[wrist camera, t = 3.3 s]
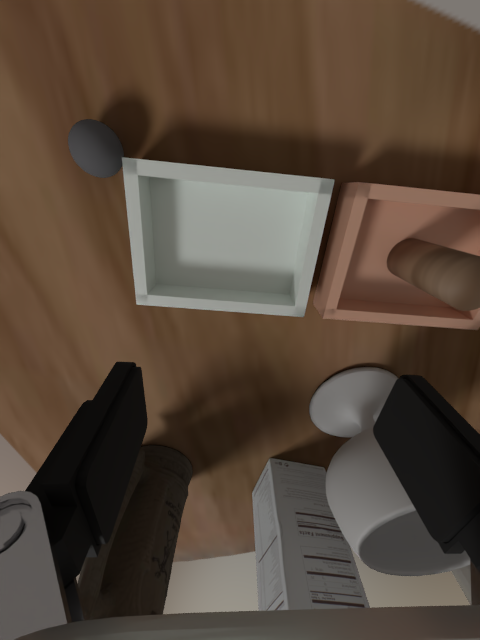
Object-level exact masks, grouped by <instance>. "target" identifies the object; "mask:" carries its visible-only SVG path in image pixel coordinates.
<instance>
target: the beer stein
mask: <svg viewBox="0 0 480 640" xmlns="http://www.w3.org/2000/svg"><path fill="white" fill-rule="evenodd" d="M191 477H192V466H191V464H190V462H189V460H188V459H187V458H186V457H185V456H184V455H183V454H181V453H180V452H178V451H176V450H174V449H171V448H168V447H164V446H156V445H149V446H143V447H141V448H140V451H139V454H138V457H137V460H136V463H135V466H134V469H133V472H132V475H131V478H130V481H129V484H128V487H127V490H126V493H125V496H124V499H123V502H122V505H121V508H120V511H119V514H118V517H117V520H116V523H115V526H114V529H113V532H112V535H111V538H110V540H109V542H108V543H107V544H102V546H101V549H100V552H99V554H98V557H86V558H85V561H84V564H83V566H82V569H81V572H80V577H79V580H78V588H79V592H80V595H81V599H82V603H83V607H84V610H85V614H86V618H87V620H94V619H103V618H111V617H126V616H144V615H162V614H163V610H164V605H165V600H166V596H167V590H168V584H169V580H170V574H171V569H172V563H173V558H174V553H175V548H176V543H177V538H178V533H179V529H180V523H181V517H182V513H183V509H184V505H185V502H186V499H187V496H188V485H189V483H190V480H191Z"/></svg>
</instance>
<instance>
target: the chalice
mask: <svg viewBox="0 0 480 640" xmlns="http://www.w3.org/2000/svg"><path fill="white" fill-rule="evenodd" d="M397 379H399V378H398V377H397V376H396V375H394V374H393V373H391V372H389V371H387V370H384V369H380V368H375V367H360V368H353V369H350V370H346V371H343V372H341V373H339V374H337V375H334V376H333V377H331V378H330V379H328V380H327V381H325V382H324V383H323V384H322V385H321V386H320V387H319V388H318V389H317V390H316V392H315V393H314V395H313V397H312V399H311V402H310V405H309V414H310V417H311V420H312V421H313V423H314V424H315V426H316V427H318V428H319V429H320V430H321V431H323V432H325V433H327V434H329V435H334V436H338V437H352V438H351V439H350V440H348V441H347V442H346V443H345V444H343V445H342V446H341V447H340V448H339V450H338V451H337V452H336V453H335V455H334V456H333V458H332V460H331V462H330V465H329V467H328V470H327V473H326V483H325V485H326V496H327V500H328V504H329V506H330V509H331V511H332V513H333V516H334V518H335V520H336V522H337V524H338V526H339V528H340V530H341V532H342V533H343V535H344V537H345V539H346V540H347V542H348V543H349V545H350V547H351V548H352V549H353V550H354V552H355V553H356V554H357V556H358V557H359V558H360V559H361V560H362V561H363V562H364V563H365V564H366V565H367V566H369V567H370V568H371V569H374V570H376V571H378V572H381V573H385V574H390V575H399V576H422V575H431V574H437V573H442V572H448V571H451V570H455V569H458V568H462V567H465V566H468V565H470V557H469V556H468V554H467V553H466V551H464V552H462V553H461V554H444V552H443V551H442V549H441V547H440V545H439V544H438V542H437V541H435V540H434V539H433V538H432V537H431V535H430V534H429V532H428V530H427V529H426V527H425V525H424V523H423V522H422V520H421V518H420V516H419V514H418V513H417V511H416V509H415V507H414V506H413V504H412V502H411V500H410V499H409V497H408V495H407V493H406V492H405V490H404V488H403V486H402V485H401V483H400V481H399V479H398V477H397V476H396V474H395V472H394V470H393V469H392V467H391V465H390V463H389V462H388V460H387V458H386V456H385V455H384V453H383V451H382V449H381V447H380V446H379V444H378V442H377V440H376V439H375V437H374V434H373V427H374V424H375V422H376V420H377V418H378V416H379V414H380V412H381V410H382V408H383V406H384V404H385V402H386V400H387V398H388V396H389V394H390V392H391V390H392V388H393V386H394V384H395V382H396V380H397Z"/></svg>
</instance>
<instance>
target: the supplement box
mask: <svg viewBox="0 0 480 640" xmlns="http://www.w3.org/2000/svg"><path fill="white" fill-rule="evenodd" d="M325 483H326V471H325V468H324V467H319V466H314V465H308V464H302V463H297V462H291V461H285V460H279V459H274V458H269V460H268V462H267V464H266V466H265V468H264V470H263V472H262V474H261V476H260V478H259V480H258V482H257V484H256V486H255V488H254V490H253V492H252V497H253V515H254V533H255V549H256V566H257V586H258V606H259V611H270V610H303V609H340V608H370V606H369V603H368V600H367V597H366V594H365V591H364V588H363V585H362V582H361V579H360V576H359V572H358V569H357V566H356V563H355V560H354V557H353V554H352V551H351V548H350V545H349V543H348V542H347V540H346V539H345V537H344V535H343V533H342V532H341V530H340V528H339V526H338V524H337V522H336V520H335V518H334V516H333V513H332V511H331V509H330V506H329V504H328V500H327V496H326V485H325Z"/></svg>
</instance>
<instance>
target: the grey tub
mask: <svg viewBox="0 0 480 640" xmlns="http://www.w3.org/2000/svg"><path fill="white" fill-rule="evenodd" d="M122 165H123V175H124V184H125V194H126V204H127V214H128V224H129V234H130V244H131V254H132V264H133V274H134V283H135V293H136V303H137V305H151V306H164V307H177V308H191V309H204V310H217V311H231V312H244V313H257V314H271V315H284V316H297V317H304V314H305V310H306V305H307V301H308V296H309V292H310V288H311V283H312V279H313V274H314V270H315V265H316V261H317V257H318V252H319V248H320V243H321V239H322V234H323V230H324V226H325V221H326V217H327V212H328V208H329V203H330V199H331V195H332V190H333V186H334V181H335V180H334V179H325V178H315V177H306V176H296V175H287V174H277V173H268V172H258V171H248V170H239V169H229V168H220V167H210V166H201V165H191V164H182V163H172V162H162V161H153V160H143V159H134V158H124V157H122Z"/></svg>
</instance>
